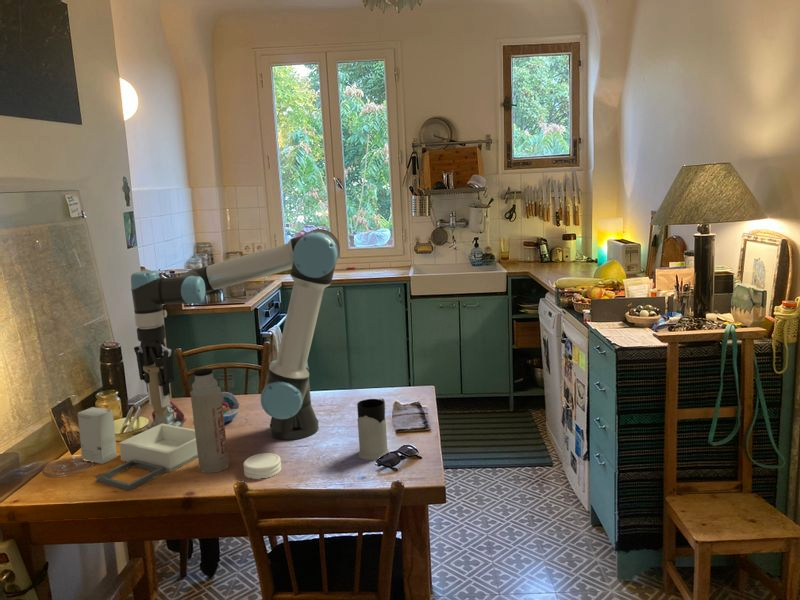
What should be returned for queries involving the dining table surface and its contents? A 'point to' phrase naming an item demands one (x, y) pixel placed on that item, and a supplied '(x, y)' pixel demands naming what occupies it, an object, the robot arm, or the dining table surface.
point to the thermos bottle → (209, 422)
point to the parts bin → (161, 446)
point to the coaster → (262, 466)
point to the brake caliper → (169, 417)
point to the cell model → (229, 406)
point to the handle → (155, 389)
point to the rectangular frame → (155, 472)
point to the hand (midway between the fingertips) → (160, 404)
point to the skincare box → (97, 435)
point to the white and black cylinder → (372, 429)
